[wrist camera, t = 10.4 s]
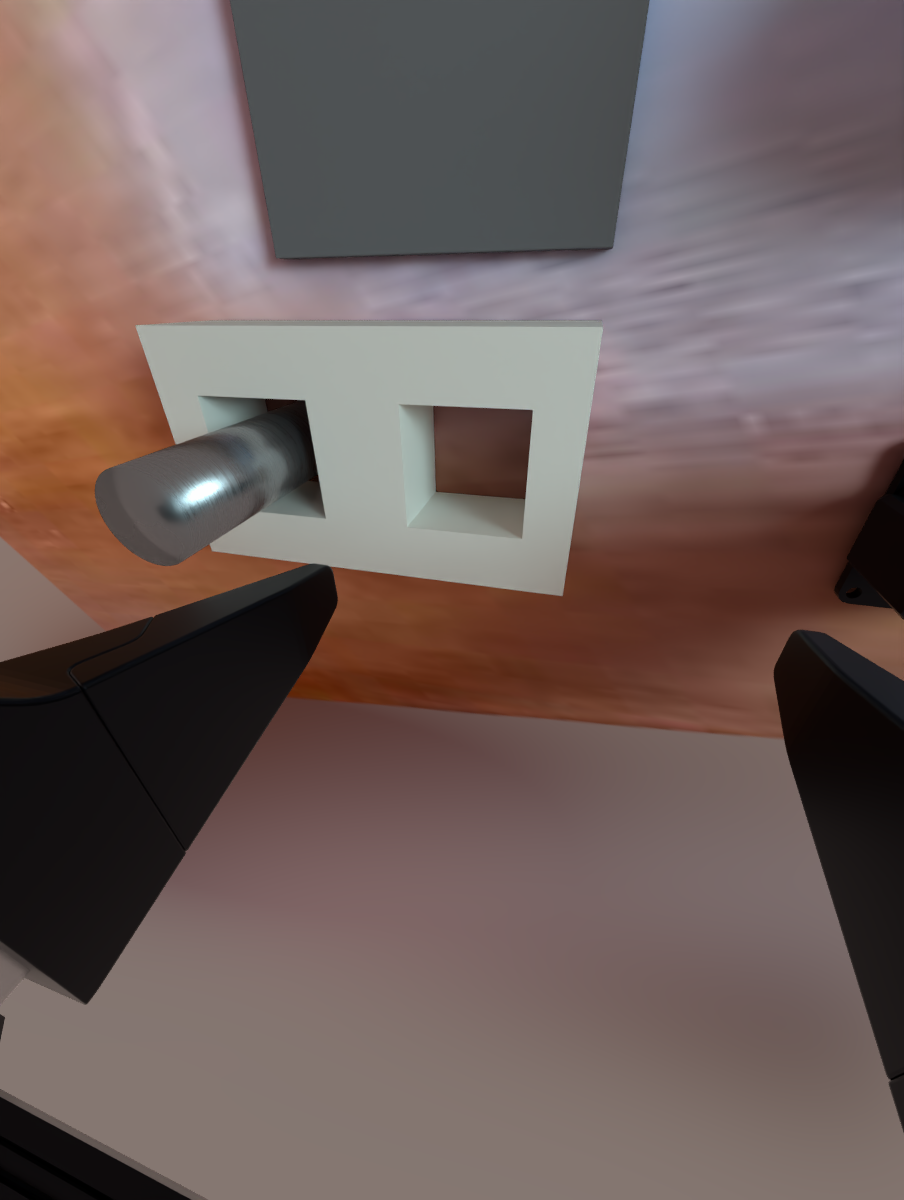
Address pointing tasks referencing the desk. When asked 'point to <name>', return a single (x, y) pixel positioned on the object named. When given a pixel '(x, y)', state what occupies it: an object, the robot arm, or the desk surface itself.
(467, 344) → the hole block
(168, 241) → the desk surface
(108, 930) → the robot arm
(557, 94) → the mat
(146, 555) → the peg
